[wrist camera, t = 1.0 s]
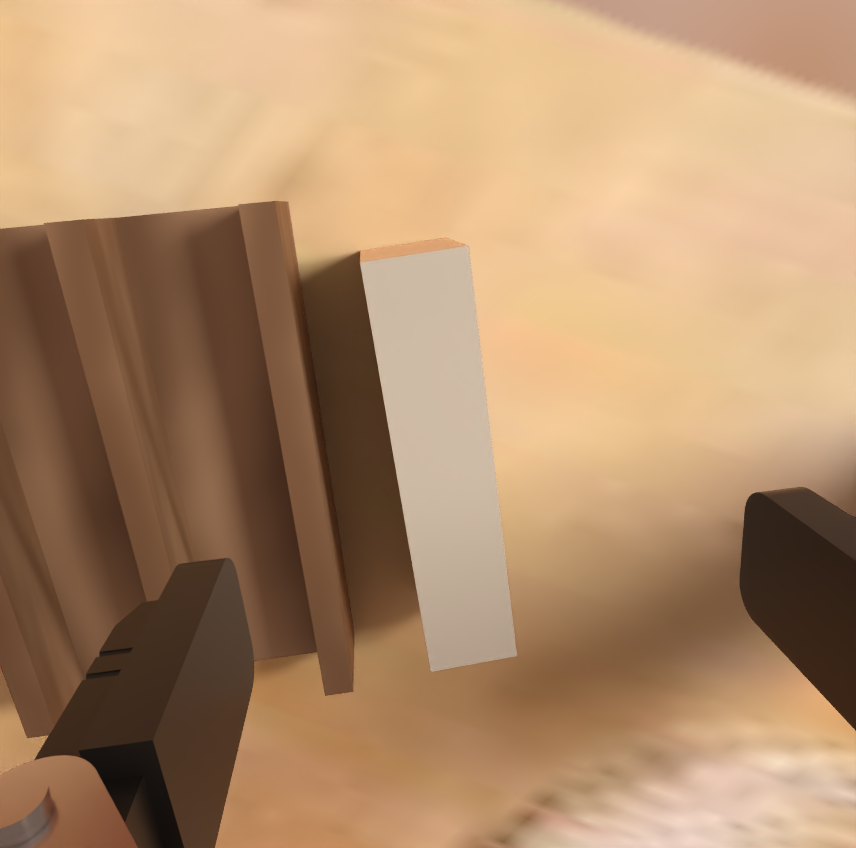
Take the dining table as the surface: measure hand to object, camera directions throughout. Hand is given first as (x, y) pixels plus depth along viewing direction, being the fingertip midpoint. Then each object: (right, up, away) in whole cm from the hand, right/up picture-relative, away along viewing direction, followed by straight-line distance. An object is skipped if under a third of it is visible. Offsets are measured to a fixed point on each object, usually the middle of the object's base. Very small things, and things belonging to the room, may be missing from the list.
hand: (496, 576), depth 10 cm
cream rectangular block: (-1, +2, +19) cm, 19 cm away
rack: (-12, +1, +18) cm, 22 cm away
